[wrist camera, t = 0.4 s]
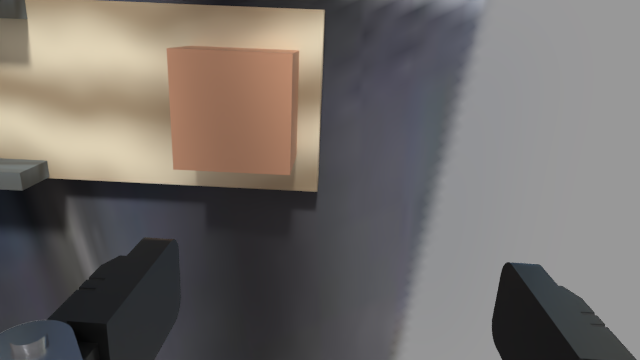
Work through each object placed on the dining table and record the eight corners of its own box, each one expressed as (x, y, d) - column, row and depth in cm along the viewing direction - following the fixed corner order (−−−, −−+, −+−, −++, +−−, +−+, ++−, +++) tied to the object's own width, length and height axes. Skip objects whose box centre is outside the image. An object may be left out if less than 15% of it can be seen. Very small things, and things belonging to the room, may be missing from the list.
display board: (-88, -6, 32) (-162, -13, 27) (325, 11, 31) (322, 7, 27) (-53, 164, 36) (-113, 185, 31) (318, 182, 35) (314, 207, 30)
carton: (190, 45, 30) (166, 48, 26) (299, 50, 30) (292, 53, 26) (195, 151, 33) (173, 169, 28) (296, 156, 32) (289, 175, 28)
